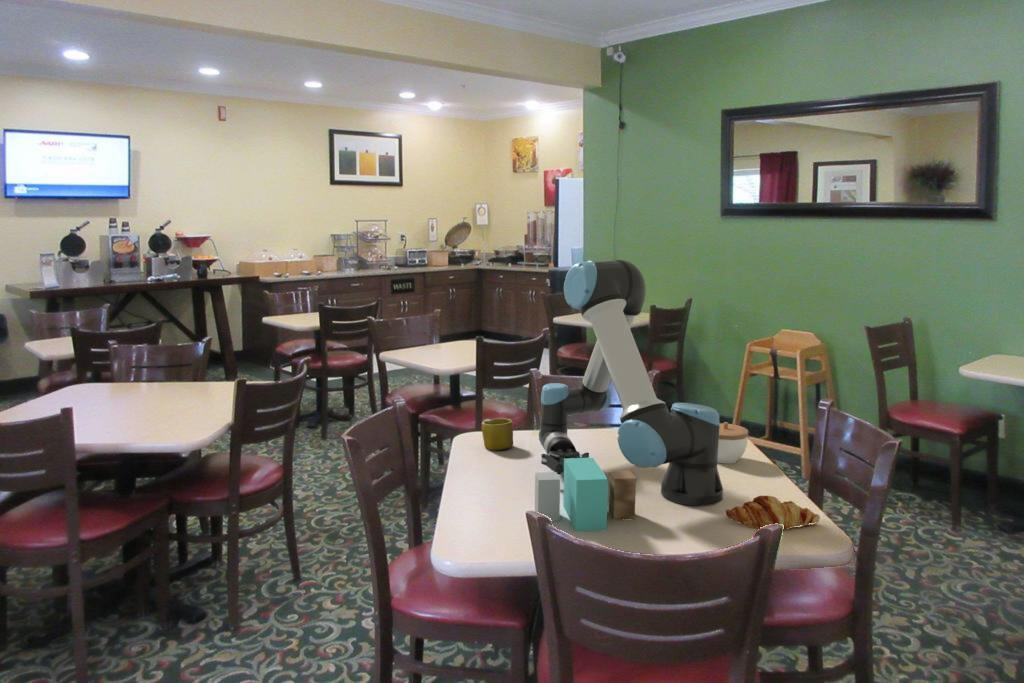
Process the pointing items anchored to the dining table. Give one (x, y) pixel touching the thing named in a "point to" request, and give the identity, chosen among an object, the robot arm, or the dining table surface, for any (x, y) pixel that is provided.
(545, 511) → the grey block
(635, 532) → the dining table surface
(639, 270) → the robot arm
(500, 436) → the mug
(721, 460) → the lidded bowl
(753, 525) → the croissant
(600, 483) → the teal block
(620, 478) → the walnut block
